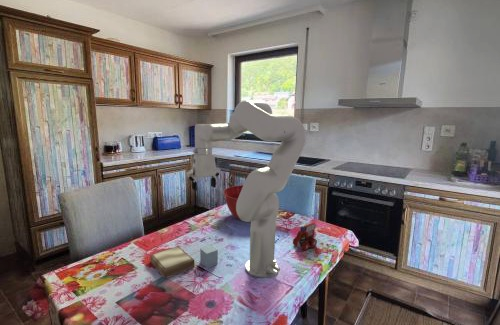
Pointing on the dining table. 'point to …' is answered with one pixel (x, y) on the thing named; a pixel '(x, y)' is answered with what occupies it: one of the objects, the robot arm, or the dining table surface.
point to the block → (209, 256)
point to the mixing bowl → (232, 198)
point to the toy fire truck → (305, 237)
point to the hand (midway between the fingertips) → (204, 188)
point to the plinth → (172, 261)
